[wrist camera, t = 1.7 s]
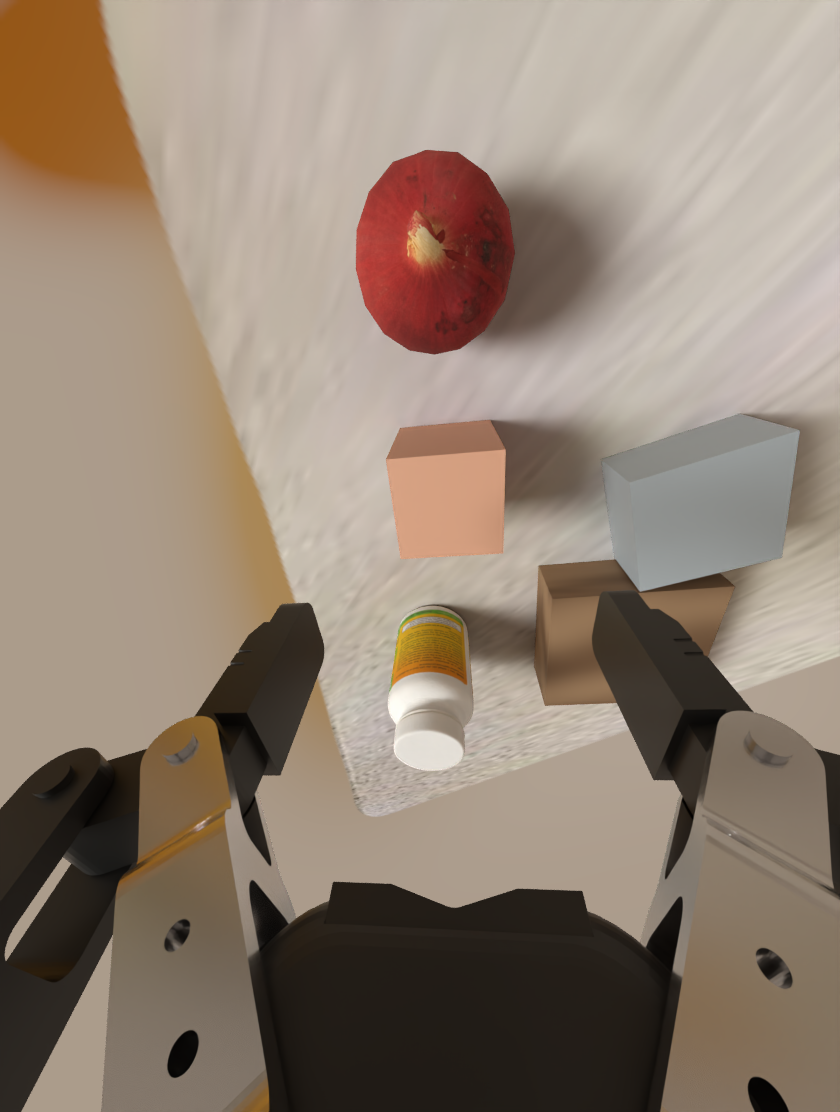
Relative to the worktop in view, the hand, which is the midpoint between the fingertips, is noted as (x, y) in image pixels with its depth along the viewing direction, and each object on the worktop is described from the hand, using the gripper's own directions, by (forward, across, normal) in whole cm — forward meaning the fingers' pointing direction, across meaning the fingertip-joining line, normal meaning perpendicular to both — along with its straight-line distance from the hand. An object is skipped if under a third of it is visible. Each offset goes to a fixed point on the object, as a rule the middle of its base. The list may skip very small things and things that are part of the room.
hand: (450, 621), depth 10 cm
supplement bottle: (+14, +2, +12) cm, 19 cm away
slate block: (+14, -13, +2) cm, 19 cm away
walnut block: (+14, -11, +12) cm, 21 cm away
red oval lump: (+13, 0, -9) cm, 16 cm away
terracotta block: (+13, 0, 0) cm, 13 cm away
